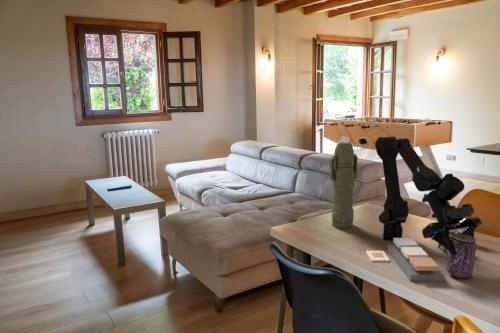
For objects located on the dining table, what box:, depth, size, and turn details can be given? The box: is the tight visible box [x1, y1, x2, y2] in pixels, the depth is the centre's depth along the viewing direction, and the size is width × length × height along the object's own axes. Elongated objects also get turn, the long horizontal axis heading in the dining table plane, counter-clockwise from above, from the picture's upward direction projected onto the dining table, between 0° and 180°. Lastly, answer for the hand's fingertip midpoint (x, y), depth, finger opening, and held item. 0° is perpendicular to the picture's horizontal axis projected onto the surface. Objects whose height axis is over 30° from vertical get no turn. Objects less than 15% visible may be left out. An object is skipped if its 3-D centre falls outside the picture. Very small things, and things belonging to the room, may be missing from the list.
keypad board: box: [387, 244, 446, 282], centre depth 135 cm, size 24×10×2 cm, turn 178°
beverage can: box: [446, 234, 478, 279], centre depth 126 cm, size 7×7×12 cm
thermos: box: [329, 142, 359, 230], centre depth 171 cm, size 9×12×35 cm
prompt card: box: [365, 250, 391, 263], centre depth 142 cm, size 8×6×1 cm
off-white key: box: [401, 246, 429, 259], centre depth 135 cm, size 6×6×1 cm
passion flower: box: [437, 229, 461, 256], centre depth 145 cm, size 11×11×12 cm
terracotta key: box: [409, 256, 440, 271], centre depth 126 cm, size 6×6×1 cm
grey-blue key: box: [392, 237, 419, 249], centre depth 143 cm, size 6×6×1 cm
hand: (465, 252), depth 125 cm, fingers closed on beverage can, 7 cm apart
